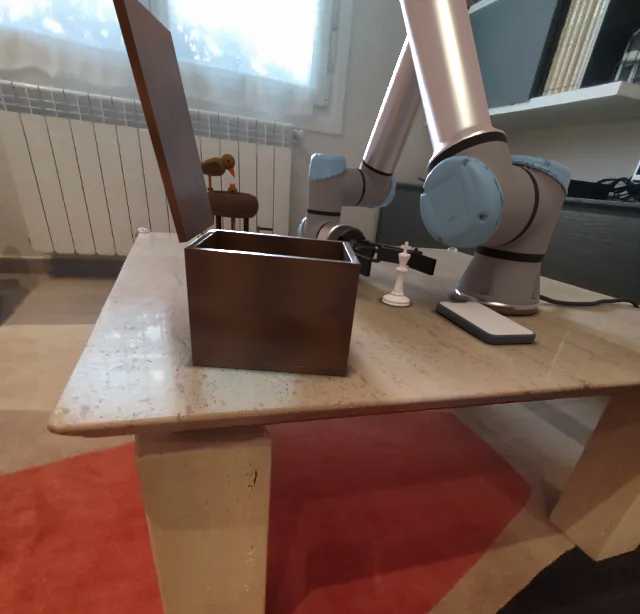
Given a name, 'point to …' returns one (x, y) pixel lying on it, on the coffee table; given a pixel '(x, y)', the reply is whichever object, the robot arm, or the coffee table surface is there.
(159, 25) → the lid
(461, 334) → the coffee table surface
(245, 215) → the bird figurine
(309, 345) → the chest
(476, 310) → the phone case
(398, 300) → the chess piece
